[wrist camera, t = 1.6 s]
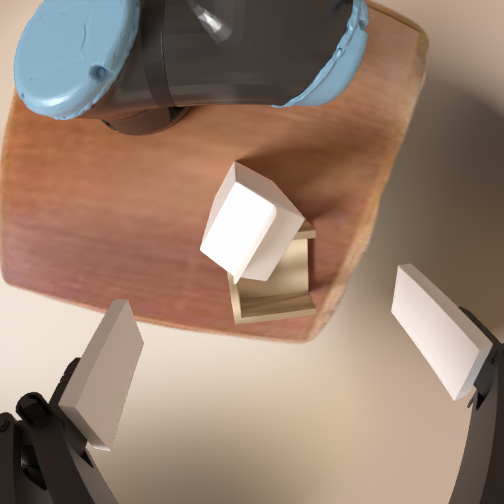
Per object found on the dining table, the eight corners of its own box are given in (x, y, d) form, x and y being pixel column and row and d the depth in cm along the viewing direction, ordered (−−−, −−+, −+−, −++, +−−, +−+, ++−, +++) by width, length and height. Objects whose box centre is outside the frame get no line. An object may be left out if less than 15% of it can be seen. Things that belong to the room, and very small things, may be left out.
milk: (273, 181, 39) (319, 231, 19) (251, 218, 41) (273, 303, 21) (233, 160, 38) (237, 187, 18) (212, 199, 40) (194, 268, 19)
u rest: (223, 225, 41) (222, 240, 36) (304, 217, 42) (315, 230, 36) (234, 301, 46) (235, 324, 41) (306, 293, 46) (316, 314, 41)
